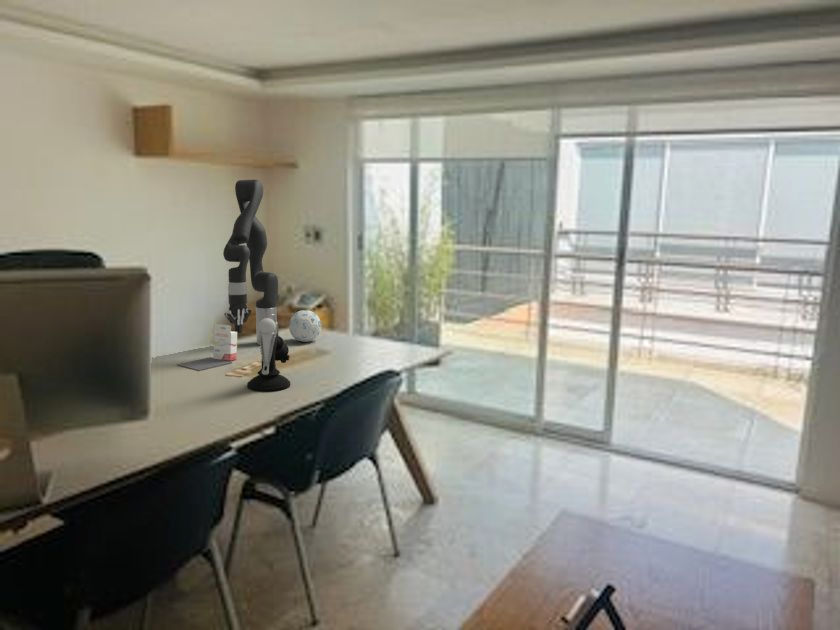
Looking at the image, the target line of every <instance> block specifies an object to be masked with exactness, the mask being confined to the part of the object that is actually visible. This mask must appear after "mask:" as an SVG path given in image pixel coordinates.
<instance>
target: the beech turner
mask: <svg viewBox="0 0 840 630" xmlns="http://www.w3.org/2000/svg"><path fill="white" fill-rule="evenodd" d="M258 366H262V360H256V361H254V362H252V363H250V364H248V365H245V366H244V367H242V368H241V369H233V370H231V371H230V372H227V373H225V376H228V377H236V378H243V377H245V376H247V375H249V374H252V373H253V372H254V371H253V370H252V369H254V368H255V369H256V367H258Z"/></svg>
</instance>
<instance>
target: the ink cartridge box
mask: <svg viewBox="0 0 840 630" xmlns="http://www.w3.org/2000/svg"><path fill="white" fill-rule="evenodd" d="M237 351H238V334H237V332H235V331H232V326H231V325H229V324H223V323H222V324H220V323H215V324H214V331H213V352H212V353H213V354H212V355H213V356H212V358H213V359H220V360H225V361H229V362H232V361H235V360H237V354H238V352H237Z"/></svg>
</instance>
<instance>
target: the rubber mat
mask: <svg viewBox="0 0 840 630" xmlns="http://www.w3.org/2000/svg"><path fill="white" fill-rule="evenodd" d="M230 364H233V362H232V361H227V360H220V359H213V356H208V357H204V358H199V359H194V360H190V361H186V362H181V363H177V364H176V366H179V367H182V368H186V369H190V370H193V371H199V372H200V371H201V372H202V371H204V370H205V371H206V370H209V369H214V368H217V367H221V366H226V365H230Z"/></svg>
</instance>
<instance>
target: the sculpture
mask: <svg viewBox="0 0 840 630" xmlns="http://www.w3.org/2000/svg"><path fill="white" fill-rule="evenodd" d="M258 328H259V330H260V332H261V333H260V334H261V335H260V337H261V338H260V339H261V340H260V342H261V343H260V344H261V345H259V347H260V348H259V349H260V354H261V361H262V364H261V369H259V371H257V375H256V376H254V377H252V378H251V379H249V381H248V382H247V385H246V387H247V389H249V390H250V391H254V392H259V393H260V392H261V393H271V392H280V391H283V390H286V389H289V388H291V381H290V380H289V379H288V378H287V377H286V376H283V375H282V374H281V372H280V370H278V368H277V367H276V361H277V362H279V361H280V363H281V364H286V362H287V361H290V358H291V357H290V354H289V352H290V351H289V347H288V345H287V344H285V343H284V339H283V337H281V336H280V335H279V334H278V335H277V332H276V330H275V329H276V323H275V322H274V321H273V320H272V319H269V318H265V319H263V320H261V321H260V322H259V325H258Z"/></svg>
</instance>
